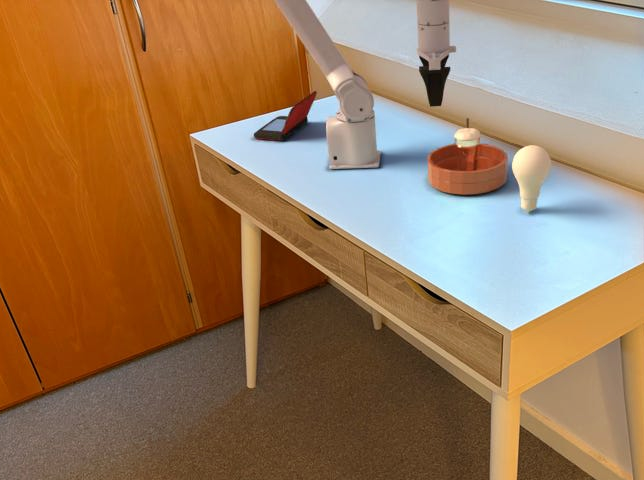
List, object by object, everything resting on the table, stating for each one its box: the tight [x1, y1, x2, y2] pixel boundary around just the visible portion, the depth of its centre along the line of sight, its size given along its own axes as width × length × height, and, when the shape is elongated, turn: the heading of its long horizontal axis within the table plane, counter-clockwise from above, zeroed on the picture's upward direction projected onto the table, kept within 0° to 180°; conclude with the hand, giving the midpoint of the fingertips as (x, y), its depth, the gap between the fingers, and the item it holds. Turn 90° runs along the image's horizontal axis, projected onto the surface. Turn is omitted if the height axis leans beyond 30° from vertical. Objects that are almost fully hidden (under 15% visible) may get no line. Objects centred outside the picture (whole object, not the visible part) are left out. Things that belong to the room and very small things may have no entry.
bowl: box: [427, 142, 509, 196], centre depth 130 cm, size 14×14×4 cm
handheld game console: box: [253, 90, 318, 142], centre depth 155 cm, size 12×11×7 cm
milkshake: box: [454, 117, 481, 171], centre depth 128 cm, size 4×5×10 cm
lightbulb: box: [511, 144, 552, 213], centre depth 116 cm, size 6×6×11 cm
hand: (435, 99), depth 137 cm, fingers open, 7 cm apart
